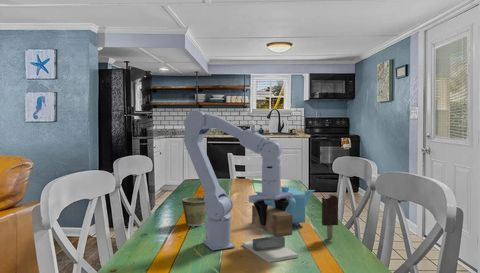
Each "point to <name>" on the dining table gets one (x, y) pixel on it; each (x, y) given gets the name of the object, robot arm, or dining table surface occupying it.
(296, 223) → the teakettle
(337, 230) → the dining table surface
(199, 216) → the plant pot
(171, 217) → the dining table surface
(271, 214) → the walnut beam
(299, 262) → the dining table surface
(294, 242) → the dining table surface
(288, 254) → the fulcrum board
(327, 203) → the ice cream bar
